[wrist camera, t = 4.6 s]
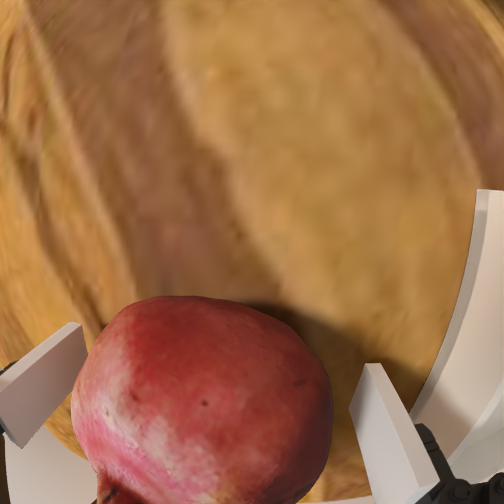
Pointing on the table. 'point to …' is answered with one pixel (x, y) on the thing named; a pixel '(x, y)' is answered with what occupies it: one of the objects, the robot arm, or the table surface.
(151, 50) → the table surface
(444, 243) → the table surface
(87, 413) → the fruit
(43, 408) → the robot arm
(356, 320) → the table surface
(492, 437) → the dish
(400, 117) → the table surface
